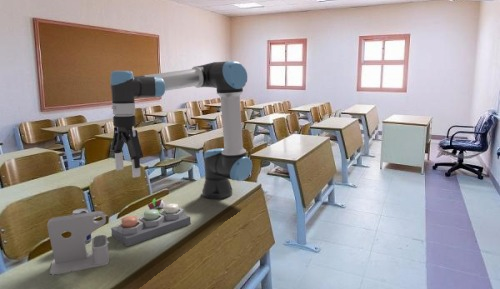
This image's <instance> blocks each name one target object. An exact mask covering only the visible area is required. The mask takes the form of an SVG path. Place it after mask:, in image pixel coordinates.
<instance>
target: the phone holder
mask: <svg viewBox="0 0 500 289" xmlns="http://www.w3.org/2000/svg"><path fill="white" fill-rule="evenodd" d="M88 212H89V211H88ZM96 217H101V218H102V219H99V220H94V219H95V218H96ZM106 222H107V218H106V214H105V212H104V211H101V210H97V211H90V212H89V213H82V214H75V215H72V214H70V215H68V214H67V215H63V216H55V217H51V218H49V219H48V220H47V225H46V226H47V227H46V228H47V232H48V235H49V236H48V237H49V242H50V245H51V251H52V254H53V260H52V262H51V266H50V269H49V275H50V274H52V275H51V276H55V275H54V274H57V275H61V274H60V273H62V274H66V273H72V272H76V271H81V270H86V269H93V268H98V267H102V266H106V265H109V263H110V258H109V254H110V253H109V245H108V237H107V235H104V234H99V235H96V236H93V238H91V251H89V252H87V247H86V244H85V240H84V238H85V237H86V236H88V235H89V234H91V235H92V234H93V233H94V232H95V231H97V230H98V229H99V228H101V227H102V226H104V225H105V224H106ZM66 232H68V233H70V234H71V235H70V236H69V237H64V236H63V233H66ZM71 271H72V272H71Z"/></svg>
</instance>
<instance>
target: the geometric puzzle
mask: <svg viewBox="0 0 500 289" xmlns="http://www.w3.org/2000/svg"><path fill="white" fill-rule="evenodd" d="M156 199H157V198H156V197H153V199H152V200H151V201H150V203H147V207H148V208H149V210H152V209H155V210H158V211H159V213H160V212H161V211H162V210H163V209H164V206H165V205H166V203H165V201H163V199H161V198H159V199H158V200H156Z"/></svg>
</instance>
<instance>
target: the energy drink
mask: <svg viewBox="0 0 500 289" xmlns="http://www.w3.org/2000/svg"><path fill="white" fill-rule="evenodd" d="M82 213H89V209H88V208H85V207H83V208H82V207H80V208H76V209H74V210H72V213H71V215H75V214H82ZM84 240H85V245H86V244H88V243H90V242H92V233H91V234H89V235H88V236H86V237H85V238H84Z"/></svg>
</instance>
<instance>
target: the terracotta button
mask: <svg viewBox="0 0 500 289" xmlns="http://www.w3.org/2000/svg"><path fill="white" fill-rule="evenodd" d="M137 219H138V217H137V216H135V215H127V216H125V217H122V218H121V220H120V221H121V222H122V227H123V228H132V227H135V226H137V225H138V221H137Z"/></svg>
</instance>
